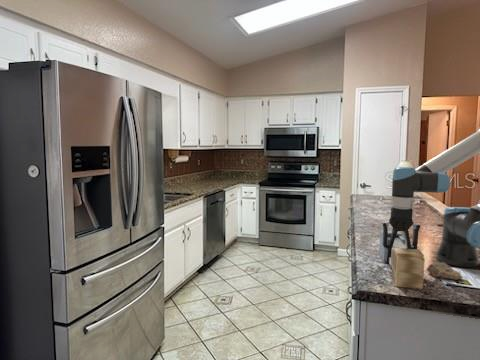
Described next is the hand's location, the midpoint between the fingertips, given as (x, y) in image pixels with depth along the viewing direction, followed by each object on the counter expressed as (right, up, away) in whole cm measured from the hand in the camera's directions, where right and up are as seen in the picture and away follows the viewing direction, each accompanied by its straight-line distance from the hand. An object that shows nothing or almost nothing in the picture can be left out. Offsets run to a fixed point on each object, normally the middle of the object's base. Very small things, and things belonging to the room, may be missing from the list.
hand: (398, 265), depth 130 cm
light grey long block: (+1, -1, +4) cm, 4 cm away
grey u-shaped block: (+3, 0, +13) cm, 13 cm away
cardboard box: (-3, -3, -12) cm, 12 cm away
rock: (+14, -3, -5) cm, 16 cm away
